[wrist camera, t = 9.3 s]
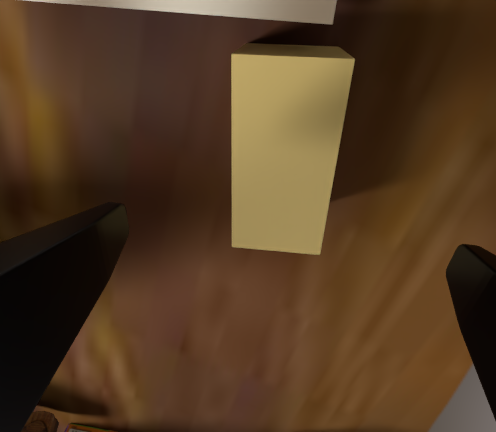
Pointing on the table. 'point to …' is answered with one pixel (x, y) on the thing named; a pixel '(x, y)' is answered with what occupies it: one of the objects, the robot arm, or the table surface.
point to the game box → (84, 429)
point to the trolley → (229, 8)
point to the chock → (285, 142)
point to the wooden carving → (41, 422)
